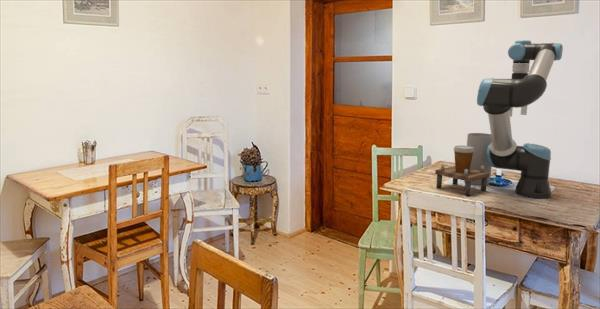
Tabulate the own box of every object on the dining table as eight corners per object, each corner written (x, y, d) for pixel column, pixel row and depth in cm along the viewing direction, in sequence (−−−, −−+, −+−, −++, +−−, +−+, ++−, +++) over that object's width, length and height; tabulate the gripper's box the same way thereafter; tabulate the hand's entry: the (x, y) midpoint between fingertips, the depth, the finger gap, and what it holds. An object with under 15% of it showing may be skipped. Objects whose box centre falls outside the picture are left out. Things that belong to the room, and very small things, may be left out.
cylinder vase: (462, 184, 241) (465, 135, 236) (466, 178, 251) (469, 132, 247) (488, 187, 235) (492, 137, 230) (491, 181, 246) (495, 134, 241)
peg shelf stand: (487, 191, 227) (490, 166, 225) (468, 196, 218) (470, 171, 216) (454, 183, 242) (455, 160, 240) (434, 187, 233) (435, 163, 231)
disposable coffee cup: (475, 173, 224) (477, 148, 221) (455, 173, 224) (457, 148, 222) (469, 169, 233) (470, 145, 231) (449, 169, 233) (451, 145, 231)
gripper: (526, 72, 243) (522, 113, 247) (499, 72, 229) (495, 116, 233) (540, 72, 237) (536, 114, 241) (513, 72, 223) (509, 117, 227)
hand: (516, 115), depth 237 cm, fingers open, 13 cm apart
